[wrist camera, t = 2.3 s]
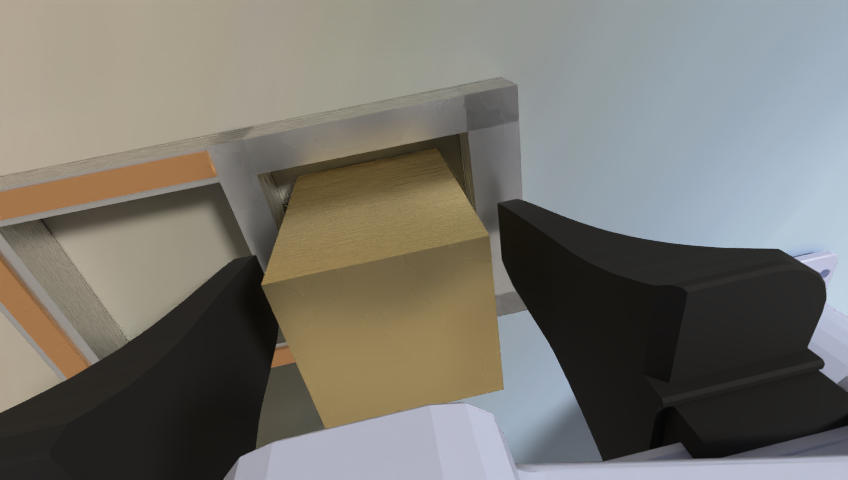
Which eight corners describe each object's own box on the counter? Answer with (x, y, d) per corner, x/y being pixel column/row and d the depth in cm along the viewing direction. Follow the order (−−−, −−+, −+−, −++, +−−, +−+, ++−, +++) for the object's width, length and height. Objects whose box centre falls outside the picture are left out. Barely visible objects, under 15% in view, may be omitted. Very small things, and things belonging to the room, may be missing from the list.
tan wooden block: (453, 262, 16) (503, 389, 10) (335, 288, 15) (326, 430, 10) (436, 147, 13) (489, 235, 8) (298, 175, 13) (261, 285, 8)
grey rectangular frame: (514, 287, 16) (528, 311, 15) (108, 378, 16) (85, 411, 14) (501, 77, 12) (518, 85, 11) (-46, 185, 12) (-96, 207, 10)
